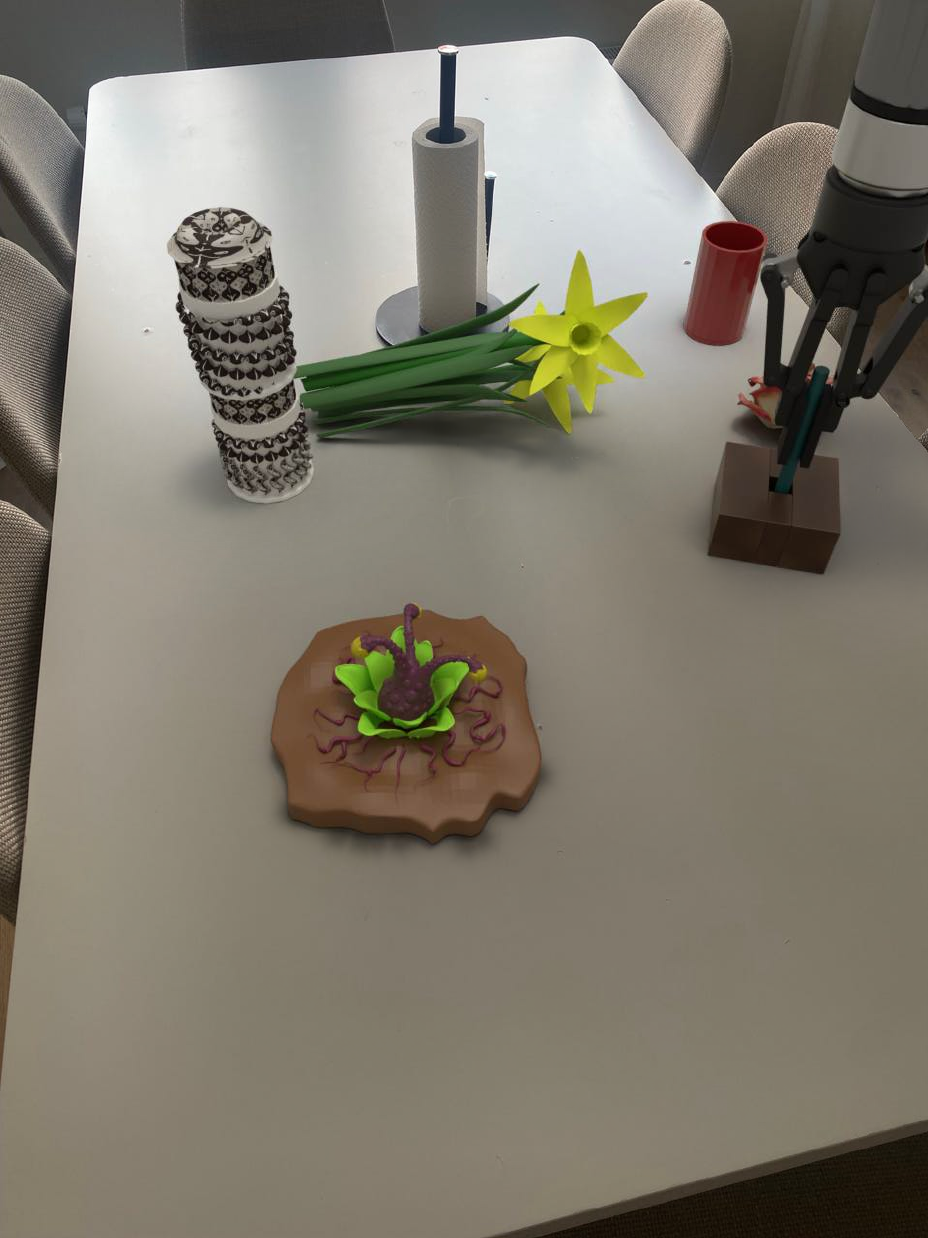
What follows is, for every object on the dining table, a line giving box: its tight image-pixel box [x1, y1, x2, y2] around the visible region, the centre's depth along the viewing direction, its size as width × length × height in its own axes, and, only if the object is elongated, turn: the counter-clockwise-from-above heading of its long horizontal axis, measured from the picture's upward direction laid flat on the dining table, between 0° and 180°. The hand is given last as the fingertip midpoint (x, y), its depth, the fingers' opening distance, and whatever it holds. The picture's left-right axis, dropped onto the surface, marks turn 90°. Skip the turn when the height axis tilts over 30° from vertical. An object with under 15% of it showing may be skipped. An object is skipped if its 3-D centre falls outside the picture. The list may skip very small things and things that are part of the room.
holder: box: [707, 441, 842, 575], centre depth 82 cm, size 10×10×5 cm
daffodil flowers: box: [293, 249, 649, 439], centre depth 88 cm, size 17×15×35 cm
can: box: [683, 220, 769, 346], centre depth 101 cm, size 7×7×11 cm
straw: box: [774, 365, 831, 494], centre depth 77 cm, size 1×1×16 cm
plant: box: [270, 602, 542, 845], centre depth 65 cm, size 20×20×11 cm
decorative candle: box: [166, 206, 315, 505], centre depth 79 cm, size 9×9×25 cm
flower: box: [736, 362, 834, 429], centre depth 90 cm, size 10×9×8 cm
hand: (793, 455), depth 77 cm, fingers closed on straw
